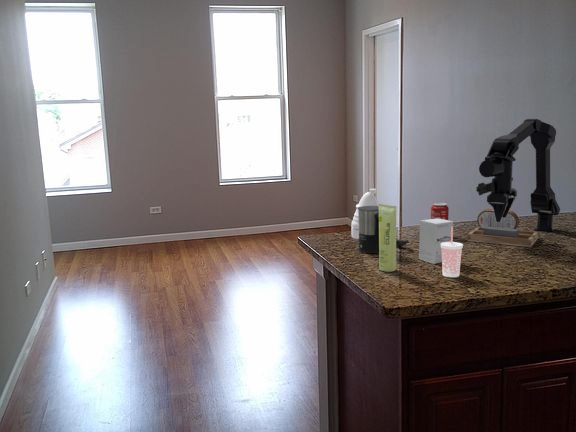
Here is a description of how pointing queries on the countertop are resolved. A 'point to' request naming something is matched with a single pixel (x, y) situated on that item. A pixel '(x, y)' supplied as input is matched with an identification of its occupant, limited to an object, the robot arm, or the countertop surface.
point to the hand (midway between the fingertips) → (501, 219)
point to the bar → (501, 232)
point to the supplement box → (433, 239)
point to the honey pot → (366, 200)
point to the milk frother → (371, 230)
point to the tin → (489, 220)
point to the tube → (387, 238)
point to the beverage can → (439, 211)
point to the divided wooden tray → (504, 238)
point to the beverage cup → (451, 257)
